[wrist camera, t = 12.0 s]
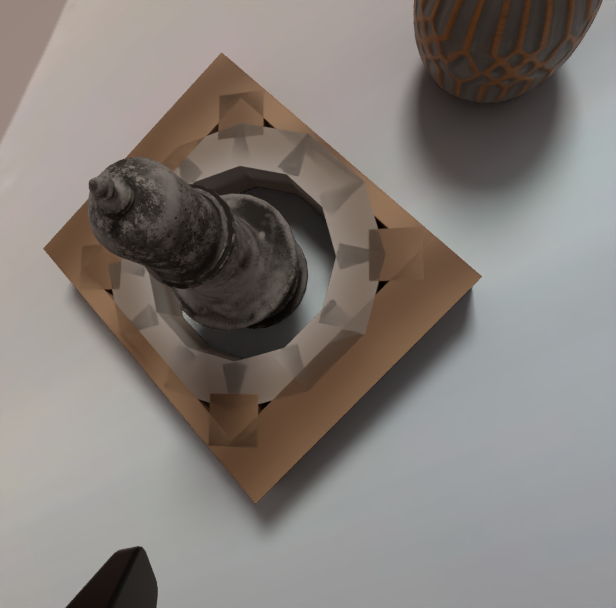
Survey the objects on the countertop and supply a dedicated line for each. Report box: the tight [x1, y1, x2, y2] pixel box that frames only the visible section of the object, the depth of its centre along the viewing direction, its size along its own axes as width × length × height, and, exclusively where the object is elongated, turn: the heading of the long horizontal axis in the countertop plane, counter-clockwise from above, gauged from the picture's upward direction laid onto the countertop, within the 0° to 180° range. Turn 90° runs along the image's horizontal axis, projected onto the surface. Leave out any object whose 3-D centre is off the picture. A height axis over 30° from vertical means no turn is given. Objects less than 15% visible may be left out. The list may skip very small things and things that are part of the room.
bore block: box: [43, 53, 482, 504], centre depth 21 cm, size 16×13×2 cm
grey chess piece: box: [87, 157, 308, 330], centre depth 16 cm, size 6×6×12 cm
